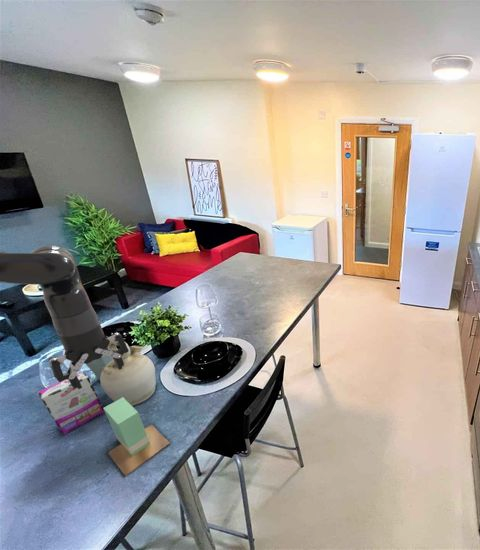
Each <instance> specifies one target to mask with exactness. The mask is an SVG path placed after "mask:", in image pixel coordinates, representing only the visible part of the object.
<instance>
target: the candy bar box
mask: <svg viewBox="0 0 480 550" xmlns="http://www.w3.org/2000/svg"><path fill="white" fill-rule="evenodd" d="M76 376H77V377H78V379H79V381H80V384H81V386H82V388H81V389H78V388H76V389H75V388H73V387H72V386H71V384H70V381H69V380H64V381H62V382H58V381H57V382H55V383H54V384H51V385H49V386H47V387H44V388H43V389H41V390H38V391H37V394H38V396H39V398H40V400H41V401H42V403H43V405H44V406H45V408H46V410H47V411H48V413H49V415H50V416H51V418H52V419H53V421H54V423H55V425H56V427H57V428H58V430H59V431H60V432H61V434H62V435H63V436H64V435H67V434H68V433H70V432H71V431H74V430H75V429H77V428H79V427H80V426H82V425H84V424H86V423H88V422H89V421H91V420H94V418H95V419H96V418H97V417H99V416H101V415H102V414H104V413H105V411H104V409H103V408H104V406H103V404H102V402H101V399H100V398H99V396H98V394H97V392H96V390H95V387H94V386H93V383H92V381H91V380H90V377H89V376H88V375H87V374H86V372H85V371H84V370H83V371H79V372H78V373H77V375H76Z"/></svg>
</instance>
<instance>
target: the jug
mask: <svg viewBox="0 0 480 550" xmlns="http://www.w3.org/2000/svg"><path fill="white" fill-rule="evenodd" d="M125 343H126V346H127V348H128V350H129V351H128V352H127V353H124V354H123V355H122V360H123V362H124V366H122V368H123V369H120V370H119V369H118V368H117V367H116V365H115V362H114V360H112V361H111V362H110V363H109V364H107V365H106V367H103V368H102V373H101V377H100V380H99V381H100V386H101V388H102V391H104V393H105V394H106V395H107V396H108V397H109V399H111V400H112V401H113V402H115V401H117V400H119V399H121V398H122V397H123V398H124V399H125V400H126V401H127V402H128V403H129V404H130V405H131V406H132V407H133V406H137V405H139V404H141V403H144V402H146V401H147V400H148V399H149V398H151V396H153V394H154V393H155V391H156V385H157V381H156V368H155V364H154V363H153V361H152V360H151V359H150V358H149V357H148V356H146V355H145V354H142V353H141V352H142V350H143V349H144V347H143V346H141V345H131V346H129V344H128V343H127V342H126V341H125ZM117 347H118V345H117V343H114V342H112V341H111V342H110V343H109V345H108V348H110V349H112V350H115V351H117V350H118V349H119V348H117Z"/></svg>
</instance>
